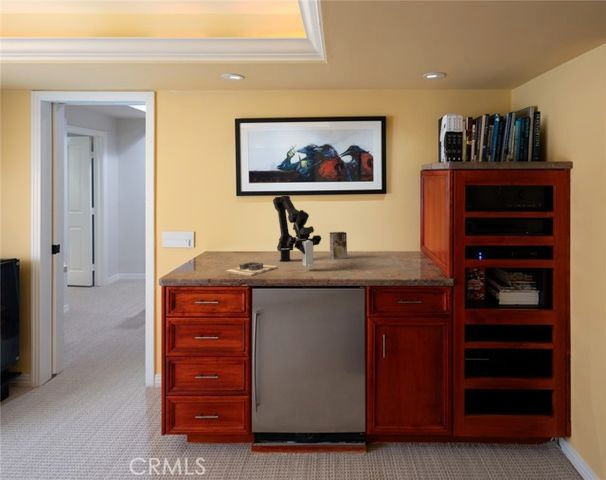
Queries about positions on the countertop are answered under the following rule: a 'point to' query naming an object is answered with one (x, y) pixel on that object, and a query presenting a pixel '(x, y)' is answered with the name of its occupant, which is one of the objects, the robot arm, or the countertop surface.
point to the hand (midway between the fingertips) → (308, 253)
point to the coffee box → (338, 245)
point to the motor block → (308, 253)
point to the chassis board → (251, 269)
